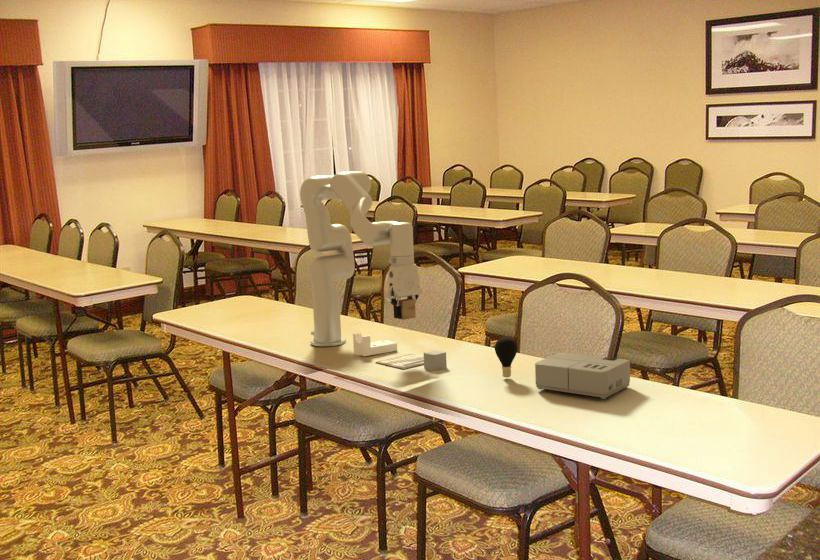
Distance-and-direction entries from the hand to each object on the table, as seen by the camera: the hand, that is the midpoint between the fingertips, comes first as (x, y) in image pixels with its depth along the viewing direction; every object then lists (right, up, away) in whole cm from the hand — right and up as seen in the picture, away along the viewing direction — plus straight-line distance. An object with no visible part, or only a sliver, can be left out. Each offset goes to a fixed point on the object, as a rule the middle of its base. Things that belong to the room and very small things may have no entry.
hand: (404, 316), depth 281 cm
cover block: (+8, -13, -7) cm, 17 cm away
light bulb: (+30, -17, -24) cm, 42 cm away
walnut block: (0, -1, 0) cm, 1 cm away
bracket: (-10, -14, +16) cm, 23 cm away
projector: (+50, -19, -37) cm, 65 cm away
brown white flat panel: (+1, -15, +1) cm, 15 cm away
